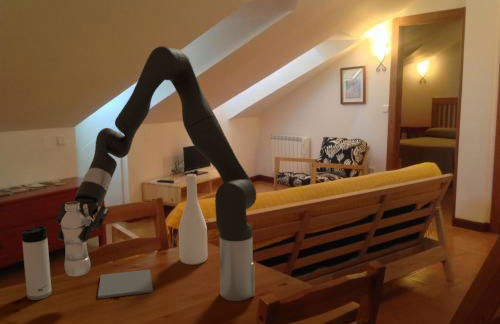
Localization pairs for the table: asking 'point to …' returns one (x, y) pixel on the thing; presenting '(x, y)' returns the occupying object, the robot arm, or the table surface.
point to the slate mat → (125, 284)
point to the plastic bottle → (74, 240)
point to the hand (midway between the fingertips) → (71, 239)
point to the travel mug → (36, 263)
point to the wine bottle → (192, 227)
